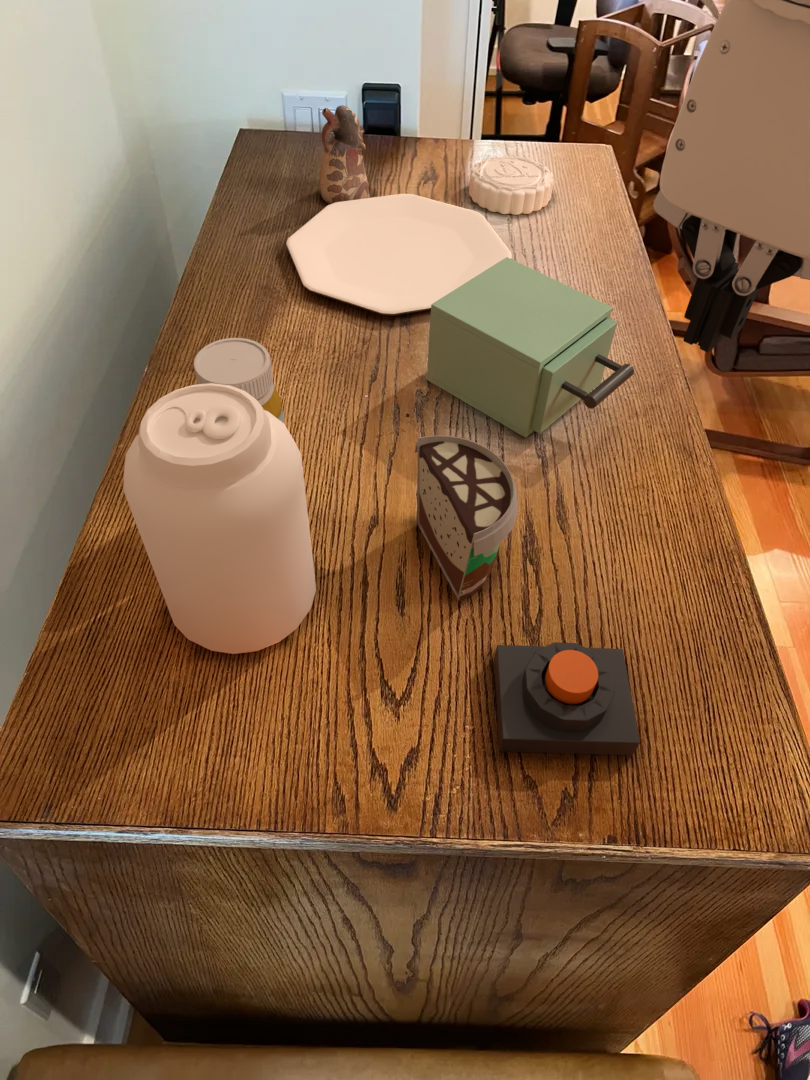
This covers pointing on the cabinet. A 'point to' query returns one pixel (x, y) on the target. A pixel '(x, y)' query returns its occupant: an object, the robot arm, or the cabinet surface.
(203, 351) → the bottle
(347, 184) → the figurine
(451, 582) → the food container
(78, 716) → the cabinet surface
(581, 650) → the block
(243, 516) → the can
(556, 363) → the green cabinet drawer
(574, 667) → the button
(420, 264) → the plate
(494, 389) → the green drawer box
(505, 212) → the mooncake
